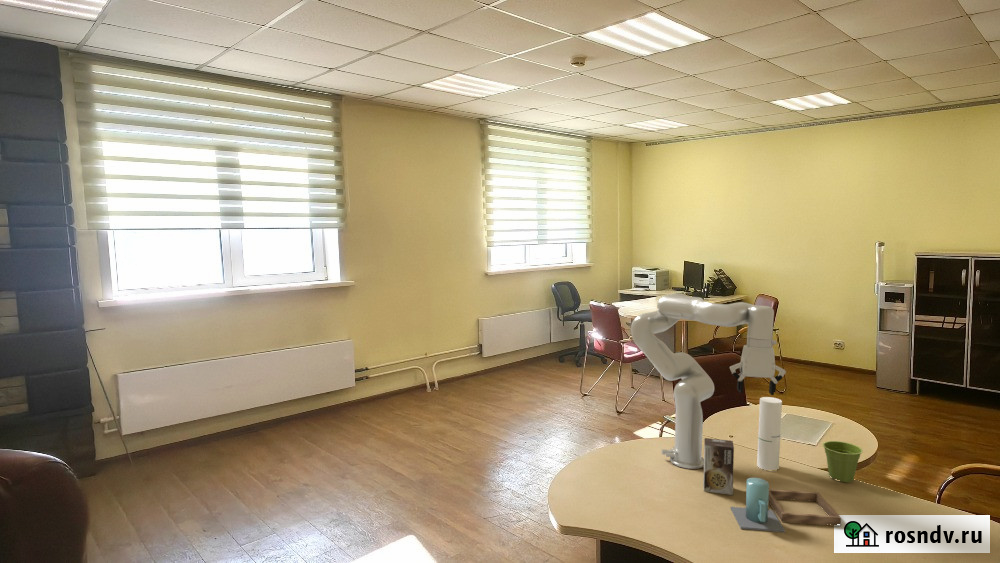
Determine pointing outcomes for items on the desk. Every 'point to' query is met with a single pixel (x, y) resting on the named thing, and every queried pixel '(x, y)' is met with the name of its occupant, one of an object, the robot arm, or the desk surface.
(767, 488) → the teal mug
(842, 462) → the plant pot
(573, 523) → the desk surface
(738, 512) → the rubber mat
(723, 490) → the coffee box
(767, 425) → the cylindrical container
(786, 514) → the brown wooden square frame
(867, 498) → the desk surface
